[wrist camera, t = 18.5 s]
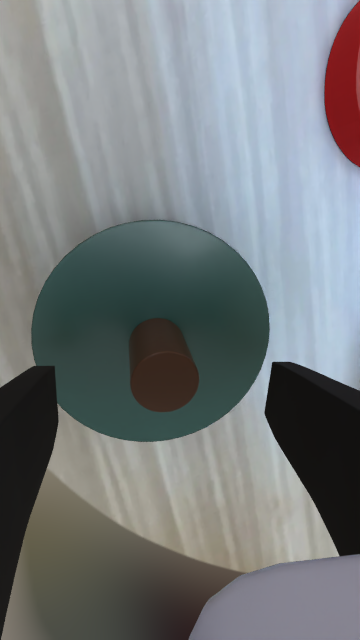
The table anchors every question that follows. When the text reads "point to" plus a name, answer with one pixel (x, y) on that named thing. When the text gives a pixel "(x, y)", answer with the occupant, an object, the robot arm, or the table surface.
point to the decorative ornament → (345, 87)
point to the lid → (151, 330)
